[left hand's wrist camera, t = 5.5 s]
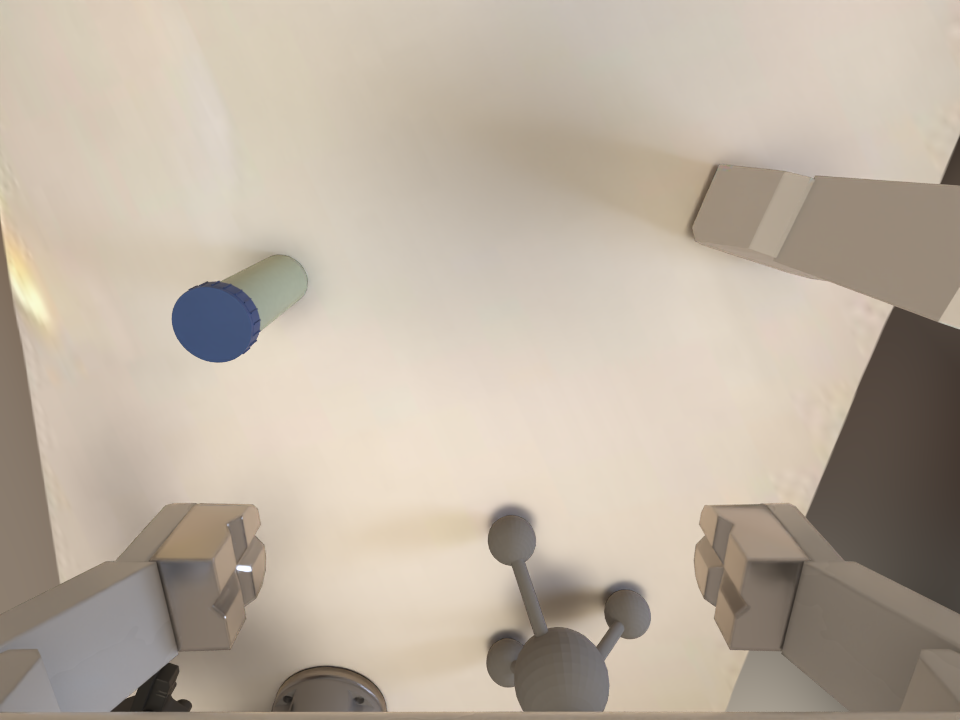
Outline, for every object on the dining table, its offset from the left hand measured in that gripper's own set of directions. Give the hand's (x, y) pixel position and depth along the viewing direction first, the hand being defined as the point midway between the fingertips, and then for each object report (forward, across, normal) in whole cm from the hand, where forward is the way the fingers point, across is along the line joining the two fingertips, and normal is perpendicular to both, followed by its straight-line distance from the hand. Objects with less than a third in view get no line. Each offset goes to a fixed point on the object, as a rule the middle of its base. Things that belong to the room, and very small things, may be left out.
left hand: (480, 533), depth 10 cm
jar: (+48, +20, +6) cm, 52 cm away
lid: (+32, +20, +6) cm, 38 cm away
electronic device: (+48, -27, 0) cm, 55 cm away
